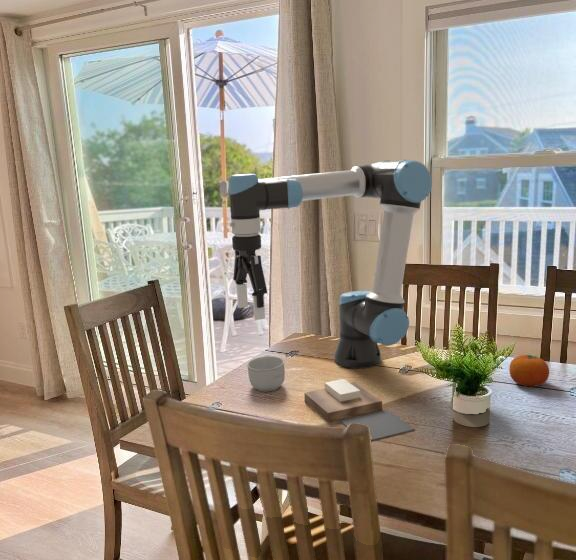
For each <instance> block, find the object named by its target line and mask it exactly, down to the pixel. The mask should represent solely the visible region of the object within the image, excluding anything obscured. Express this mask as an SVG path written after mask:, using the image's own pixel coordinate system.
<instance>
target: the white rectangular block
mask: <svg viewBox="0 0 576 560" xmlns="http://www.w3.org/2000/svg"><path fill="white" fill-rule="evenodd" d="M324 389H325V390H326V391H327V392H329V393H330V394H331V395H332V396H334V397H335V398H336V399H338V400H339V401H340V402H341V401H346V400H351V399H355V398H360V390H359V389H357V388H356V387H355V386H353V385H352V384H350V382H349V381H348V380H346V379H344V378H343V379H341V378H340V379H336V380H331V381H327V382H324Z"/></svg>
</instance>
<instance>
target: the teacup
mask: <svg viewBox="0 0 576 560" xmlns="http://www.w3.org/2000/svg"><path fill="white" fill-rule="evenodd" d="M246 367H247V373H248V381H249V383H250V385H251V386H252V387H253V388H254V389H256V390H257V391H259V392H266V393H267V392H272V391H275V390H278V389H279V388H280V386H282V385H283V384H284V382H285V377H286V376H285V375H286V373H285V372H286V371H285V360H284V359H283V358H282V357H279V356H270V354H265V355H264V356H260V357H256V358H253V359H251V360H250V361H248V362H247V363H246Z"/></svg>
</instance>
